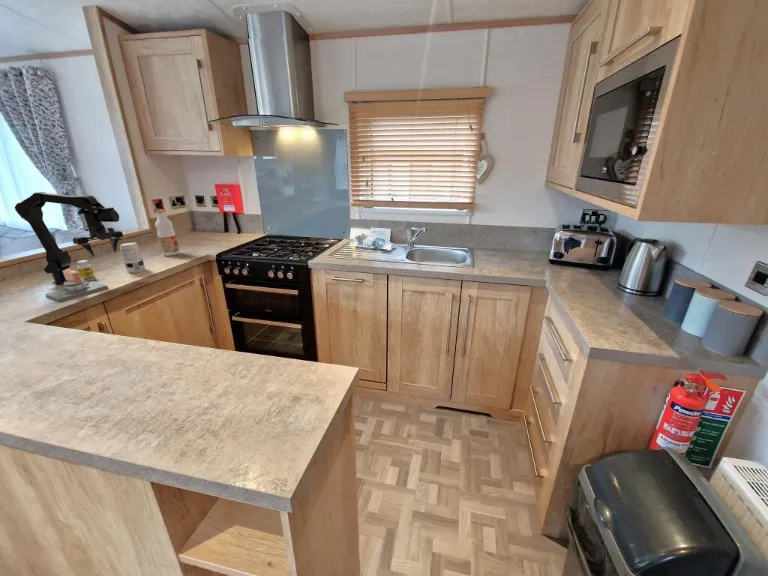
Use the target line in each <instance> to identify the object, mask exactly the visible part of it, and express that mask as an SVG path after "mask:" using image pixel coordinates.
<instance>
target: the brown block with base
mask: <svg viewBox="0 0 768 576" xmlns="http://www.w3.org/2000/svg"><path fill="white" fill-rule="evenodd" d="M63 274H64V276H65V279H66V280H68V281H65V282H64V284H63V286H64V287H62V288H61V289H62V290H63V291H64V292H65V291H67V292H74V291H79V290H83V289H85V288H87V286H88V285H89V283H88V282H89V281H84V279H83V278H81V277H80V274H79V271H75V270H72V269H70V268H67V269H66V270H63ZM76 284H79V285H76ZM71 285H75V286H71Z"/></svg>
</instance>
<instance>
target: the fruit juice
mask: <svg viewBox="0 0 768 576" xmlns="http://www.w3.org/2000/svg"><path fill="white" fill-rule="evenodd" d="M155 214H156V215H157V216H156V217H157V218H156V221H155V223H154V226H155V228H156V230H157V231H156V232H157V234H156V235H157V237H158V242H159V245H160V248H161V249H160V250H161V252H162V255H163V256H164V255H166V256H165V257H170V256H169V255H174V256H177V255H176V254H178V255H179V254H180V248H179V244H178V240H177V236H176V232H175V230H174V229H173V226H174V224H173V222H172V221H171V220H170V219H169V218H168V216H167V215H166V210H165V209H155Z"/></svg>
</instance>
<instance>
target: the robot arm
mask: <svg viewBox="0 0 768 576" xmlns="http://www.w3.org/2000/svg"><path fill="white" fill-rule="evenodd" d="M46 203H53V204H61V205H69V206H72V207H74V208H77V209H79V210H78V212H77V215H83V217H84V221H85V223H86V224H85V226H86V228H87V229H88V232H89V234H88V235H89V236H84V235H82V236H81V235H80V236H75V237H73V238H72V242H73V244H75V245H78V246H82V248H84V249H85V250H86V251H87V253H89V255H90V256H91V257H93V258H94V257H95V253H94V251H93V249H92V247H91V243H90V242H91V241H95V240H96V241H97V240H100V241H104V240H109V242H110V244H111V248H112V250H113V253H117V246H118V242H119V241H120V240H121V239H122V238H123V237H125V236H124V233H123V232H122V231H120V230H115V229H114V227H108V228H106V227H105V225H104V224H103V223H117V222H119V221H120V214H119V213H118V211H117V210H115V208H114V207H113V206H112V207H105V206H104V205H102V204H101V202H99V200H98V199H97V198H96V197H95V196H93V195H88V194H87V195H68V194H58V193H51V192H44V191H40V192H39V191H38V192H33V193H32V195H30V196H29V197H27V198H24V200H22V201H20V202H18V203H16V204H15V206H14V211H16V213H17V214H18V215H19V217H20V218H21V219H23V220H24V221H26V223H28V224H29V225H30V227H31V229H32V230H33V232H34V233H35V235H36V237H37V239H38V241H39V242H40V244H41V245H42V247H43V249H44V251H45V259H46V263H47V265H45V268H44V269H43V271H44V272H45V273H46V274H51V276H52V279H53V281H52V282H51V283H52V284H54V285H57V286H60V285H62V284H63V285H64V282H65V281H68V280H66V279H65V276H64V274H63V270H67V269H70V268H71V266H70V265H71V263H72V257H71V256H70V255H69V252H68V251H67V250H62V249H61V248H60V247H59V245H58V244H57V242H56V241H55V239H54V237H53V235H52V233H51V232H50V230H49V228H48V227H47V225H46V223H45V221H44V219H43V218H44V212H43V210H42V208H43V207H44V206H45V205H46Z"/></svg>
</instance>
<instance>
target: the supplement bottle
mask: <svg viewBox="0 0 768 576" xmlns="http://www.w3.org/2000/svg"><path fill="white" fill-rule="evenodd" d="M76 262H77V267H76V268H77V272H78V273H79V276H80V278H83V279H84V282H91V281H93V280H95V279H96V276H95V273H94V270H93V267H92V265H91V264H89V260H87V259H83V260H78V261H76Z"/></svg>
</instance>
